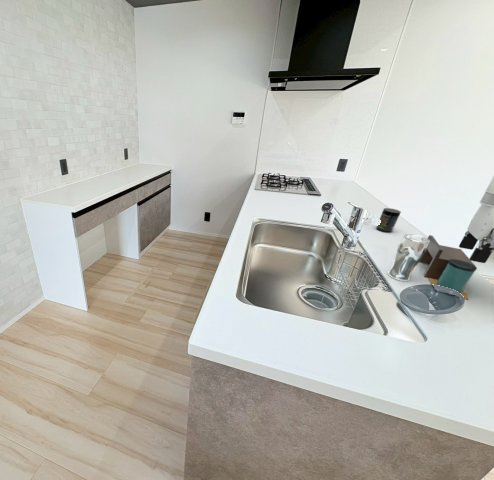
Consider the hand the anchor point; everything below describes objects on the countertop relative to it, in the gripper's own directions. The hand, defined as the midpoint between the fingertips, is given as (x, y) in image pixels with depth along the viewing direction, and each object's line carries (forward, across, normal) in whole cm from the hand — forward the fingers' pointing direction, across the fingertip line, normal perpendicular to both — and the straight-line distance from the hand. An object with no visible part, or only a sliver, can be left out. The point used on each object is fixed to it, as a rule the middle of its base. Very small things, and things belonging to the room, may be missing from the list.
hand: (470, 254), depth 79 cm
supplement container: (+13, +49, +14) cm, 52 cm away
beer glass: (+13, 0, +14) cm, 19 cm away
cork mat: (+13, 0, +1) cm, 13 cm away
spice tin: (+12, 0, +1) cm, 13 cm away
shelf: (+13, +12, +1) cm, 18 cm away
